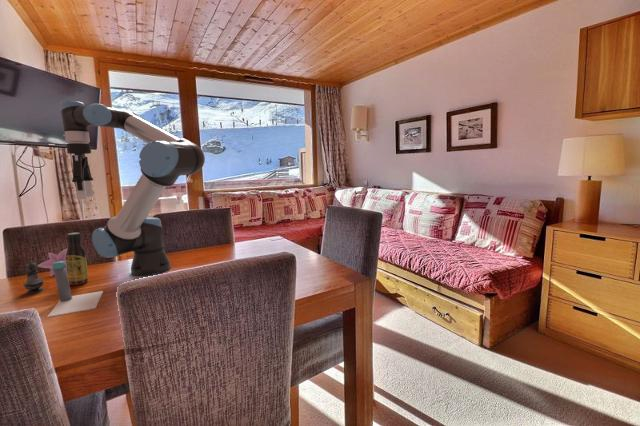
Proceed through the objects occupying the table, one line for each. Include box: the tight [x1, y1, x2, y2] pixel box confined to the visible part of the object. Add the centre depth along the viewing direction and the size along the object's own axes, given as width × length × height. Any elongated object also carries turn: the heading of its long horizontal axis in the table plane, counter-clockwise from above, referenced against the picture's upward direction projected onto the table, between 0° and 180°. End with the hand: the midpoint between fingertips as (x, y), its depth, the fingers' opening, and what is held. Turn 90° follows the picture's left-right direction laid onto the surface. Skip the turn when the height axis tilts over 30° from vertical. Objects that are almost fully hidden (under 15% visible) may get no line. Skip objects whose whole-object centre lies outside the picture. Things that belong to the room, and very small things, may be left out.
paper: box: [46, 290, 104, 318], centre depth 106 cm, size 12×16×1 cm
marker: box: [52, 261, 73, 301], centre depth 108 cm, size 3×3×13 cm
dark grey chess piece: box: [22, 259, 46, 295], centre depth 117 cm, size 6×6×12 cm
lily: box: [37, 247, 68, 277], centre depth 139 cm, size 12×12×10 cm
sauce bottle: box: [66, 232, 89, 286], centre depth 124 cm, size 6×6×20 cm
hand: (85, 197), depth 127 cm, fingers open, 13 cm apart
